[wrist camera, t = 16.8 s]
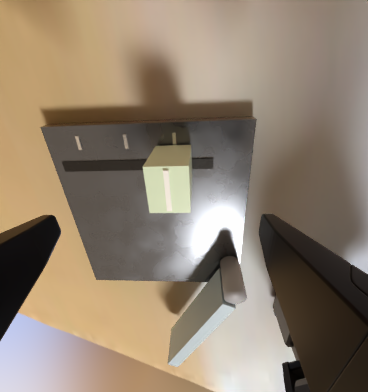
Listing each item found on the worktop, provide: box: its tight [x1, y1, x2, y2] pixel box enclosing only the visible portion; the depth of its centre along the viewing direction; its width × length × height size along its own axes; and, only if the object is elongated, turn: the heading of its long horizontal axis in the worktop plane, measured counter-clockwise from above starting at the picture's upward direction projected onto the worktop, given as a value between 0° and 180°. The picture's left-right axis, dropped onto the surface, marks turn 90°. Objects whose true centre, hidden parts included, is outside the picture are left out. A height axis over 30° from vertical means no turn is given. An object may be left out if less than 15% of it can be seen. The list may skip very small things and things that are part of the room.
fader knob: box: [143, 145, 192, 213], centre depth 14 cm, size 2×3×4 cm
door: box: [168, 256, 247, 367], centre depth 21 cm, size 14×2×4 cm, turn 156°
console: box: [41, 117, 256, 282], centre depth 19 cm, size 15×16×1 cm
